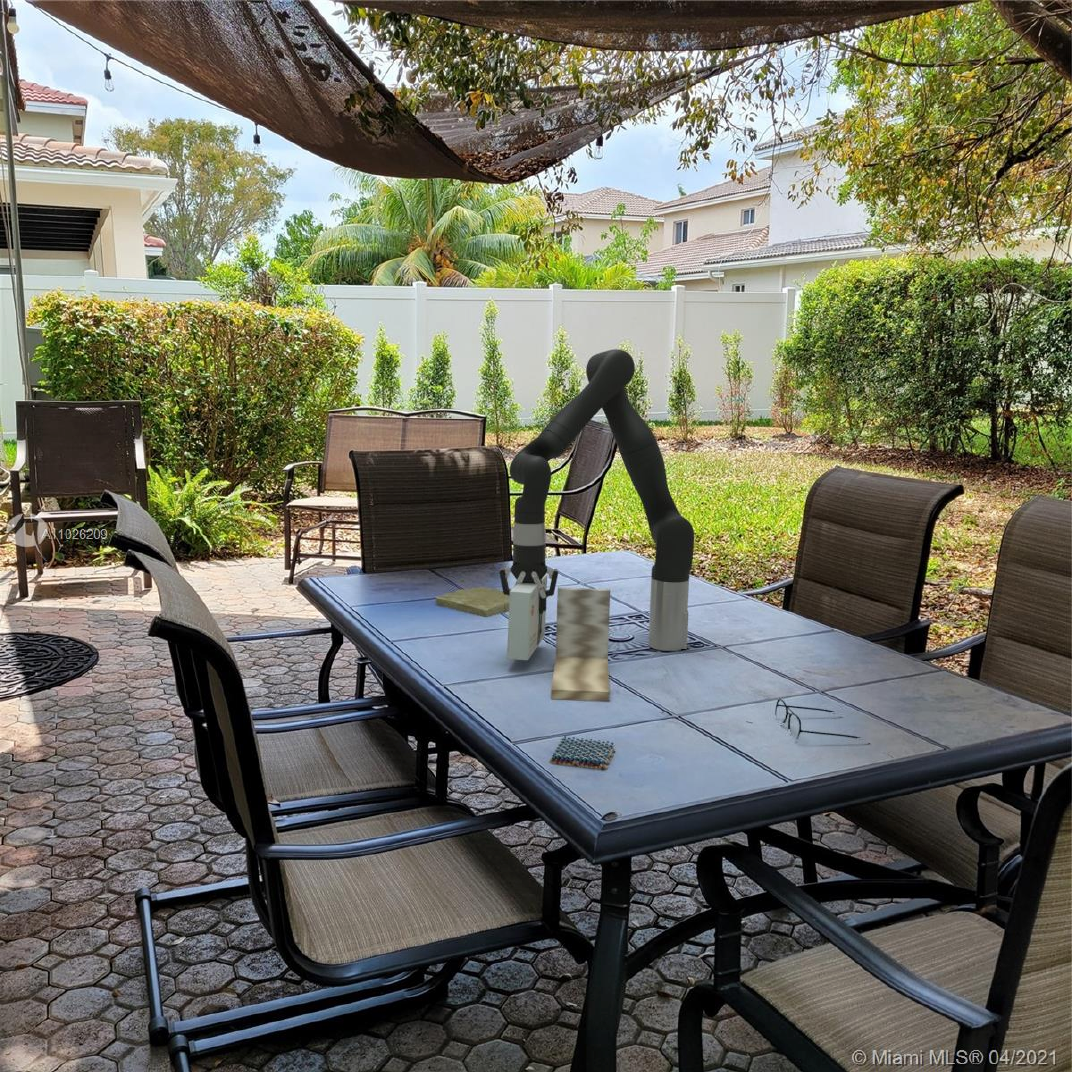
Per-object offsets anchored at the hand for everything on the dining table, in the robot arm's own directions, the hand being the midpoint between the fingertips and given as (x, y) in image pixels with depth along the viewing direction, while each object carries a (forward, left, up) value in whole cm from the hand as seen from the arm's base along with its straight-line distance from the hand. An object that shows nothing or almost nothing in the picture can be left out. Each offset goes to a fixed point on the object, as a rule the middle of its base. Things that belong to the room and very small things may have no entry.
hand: (528, 612), depth 231 cm
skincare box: (0, 0, -9) cm, 9 cm away
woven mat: (-14, +57, -12) cm, 60 cm away
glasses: (-60, +39, -12) cm, 72 cm away
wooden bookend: (-13, +15, -11) cm, 23 cm away
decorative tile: (+16, -50, -12) cm, 54 cm away
